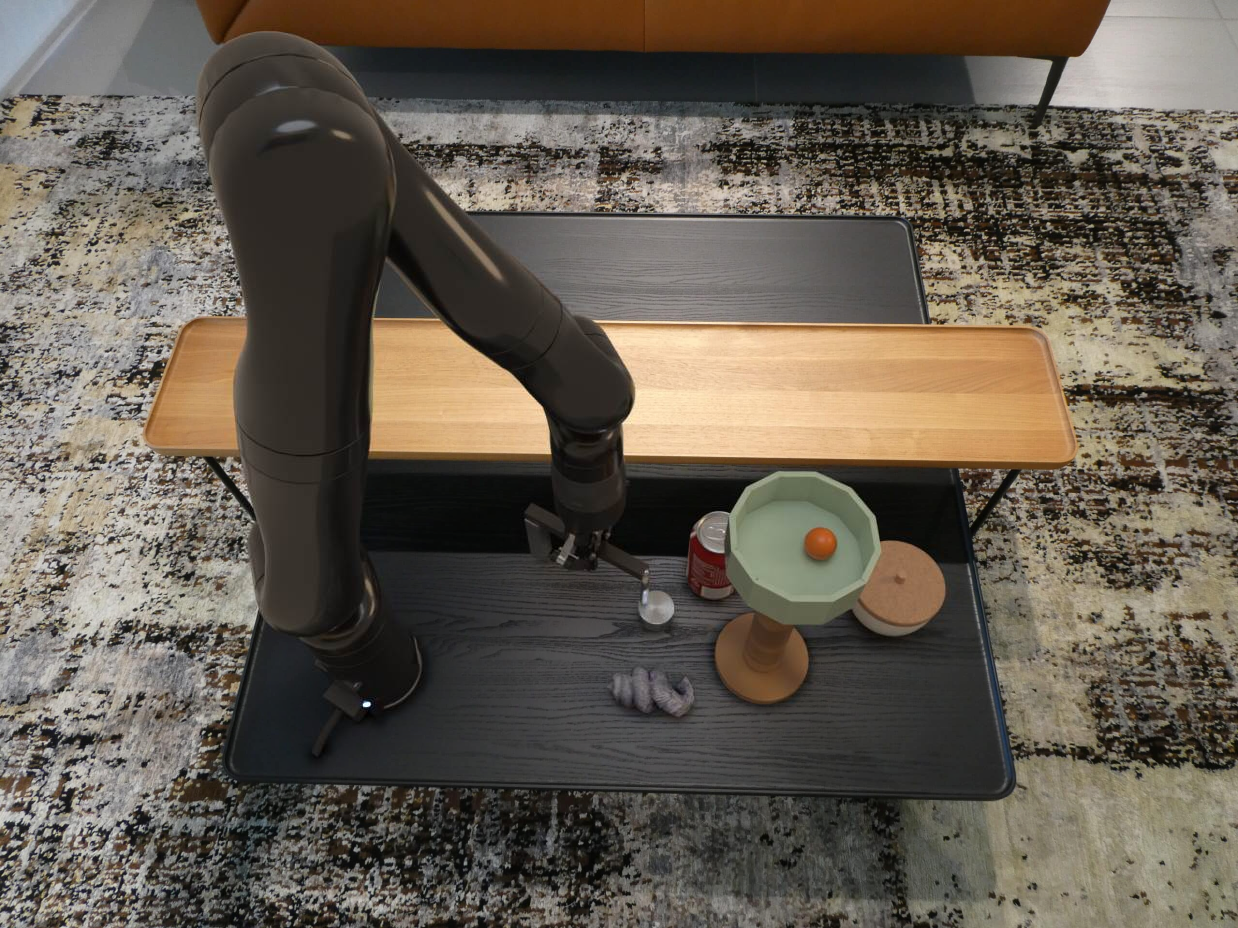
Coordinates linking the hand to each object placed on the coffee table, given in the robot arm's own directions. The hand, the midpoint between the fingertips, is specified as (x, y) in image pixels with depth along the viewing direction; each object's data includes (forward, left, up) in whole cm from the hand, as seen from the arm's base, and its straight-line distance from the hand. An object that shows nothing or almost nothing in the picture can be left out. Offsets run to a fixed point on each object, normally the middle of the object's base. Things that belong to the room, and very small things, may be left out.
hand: (593, 558), depth 100 cm
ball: (+3, -23, +20) cm, 31 cm away
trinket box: (+16, -32, -8) cm, 37 cm away
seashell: (-9, -13, -8) cm, 18 cm away
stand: (+2, -22, -8) cm, 23 cm away
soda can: (+9, -12, -8) cm, 17 cm away
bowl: (+2, -22, +18) cm, 29 cm away
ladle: (0, -1, -6) cm, 6 cm away
